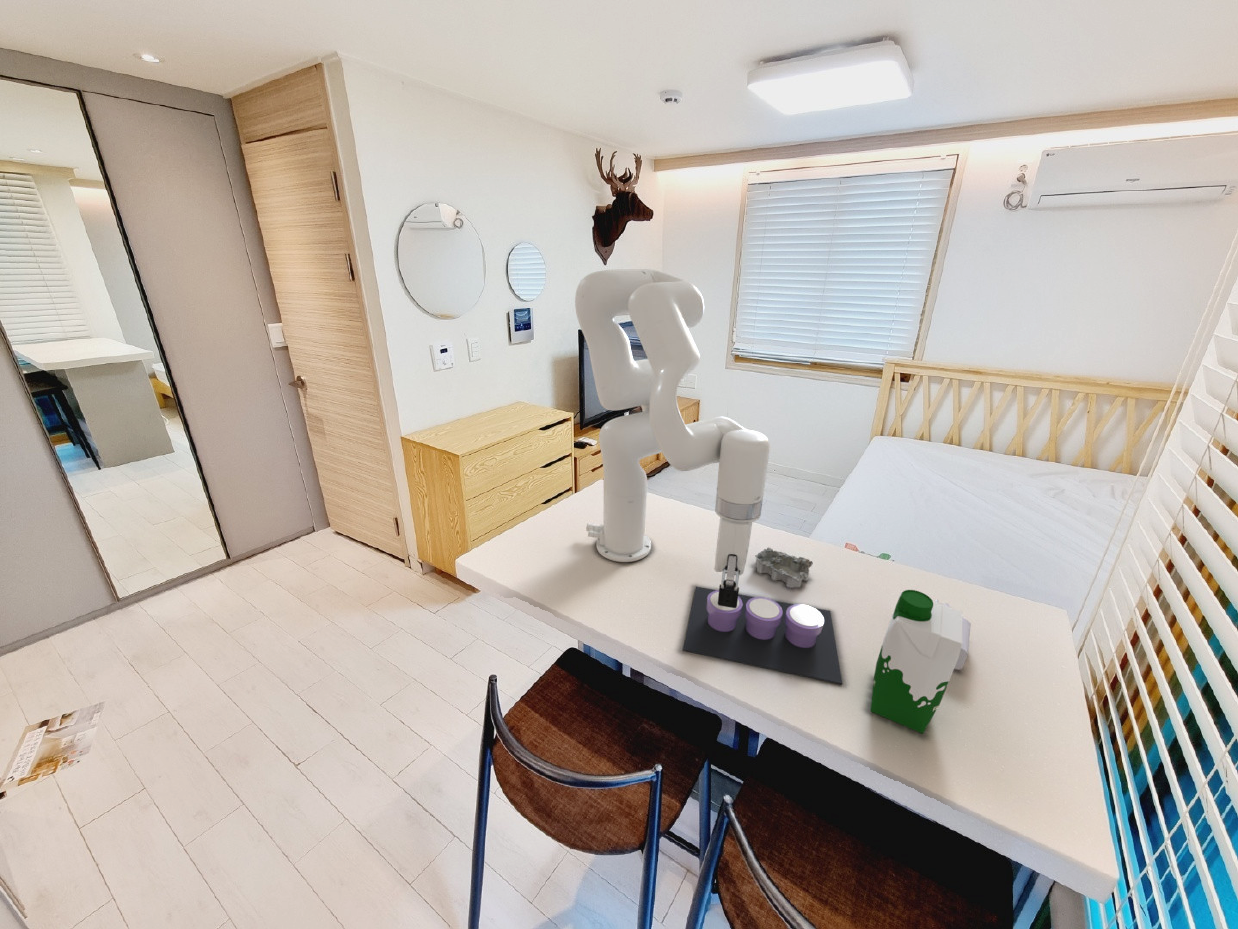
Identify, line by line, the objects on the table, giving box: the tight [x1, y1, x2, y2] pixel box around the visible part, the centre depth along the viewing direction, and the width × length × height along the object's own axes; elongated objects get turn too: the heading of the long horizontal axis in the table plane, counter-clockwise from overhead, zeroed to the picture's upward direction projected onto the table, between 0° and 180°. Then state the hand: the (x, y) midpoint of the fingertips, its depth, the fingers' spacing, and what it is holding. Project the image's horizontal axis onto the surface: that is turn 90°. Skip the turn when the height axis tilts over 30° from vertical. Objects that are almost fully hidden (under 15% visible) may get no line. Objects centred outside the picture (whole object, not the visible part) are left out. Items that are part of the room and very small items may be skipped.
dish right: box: [785, 603, 824, 648], centre depth 90 cm, size 6×6×5 cm
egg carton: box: [754, 546, 814, 588], centre depth 107 cm, size 11×8×4 cm
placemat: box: [682, 586, 843, 685], centre depth 92 cm, size 26×18×1 cm
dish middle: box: [745, 596, 783, 640], centre depth 91 cm, size 6×6×5 cm
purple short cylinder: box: [706, 589, 743, 632], centre depth 93 cm, size 6×6×5 cm
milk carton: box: [870, 589, 963, 735], centre depth 74 cm, size 9×9×20 cm
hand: (729, 588), depth 90 cm, fingers open, 9 cm apart
